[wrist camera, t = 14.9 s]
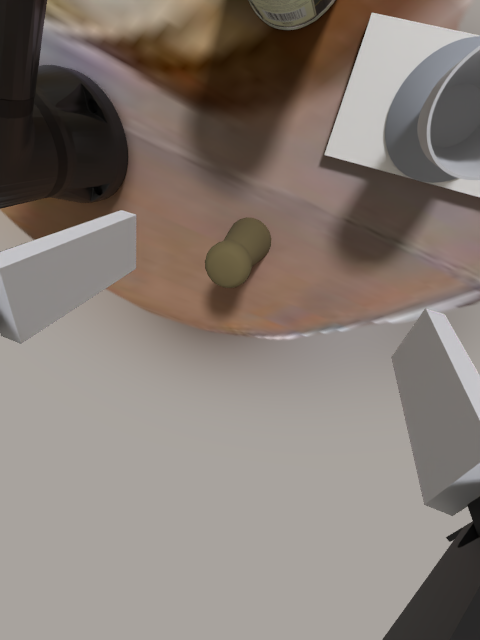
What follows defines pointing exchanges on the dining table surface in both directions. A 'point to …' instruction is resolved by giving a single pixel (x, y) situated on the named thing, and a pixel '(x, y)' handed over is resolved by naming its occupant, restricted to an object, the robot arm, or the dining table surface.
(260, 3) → the coffee can
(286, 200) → the dining table surface
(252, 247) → the olive peg figure
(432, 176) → the board
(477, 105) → the cup
